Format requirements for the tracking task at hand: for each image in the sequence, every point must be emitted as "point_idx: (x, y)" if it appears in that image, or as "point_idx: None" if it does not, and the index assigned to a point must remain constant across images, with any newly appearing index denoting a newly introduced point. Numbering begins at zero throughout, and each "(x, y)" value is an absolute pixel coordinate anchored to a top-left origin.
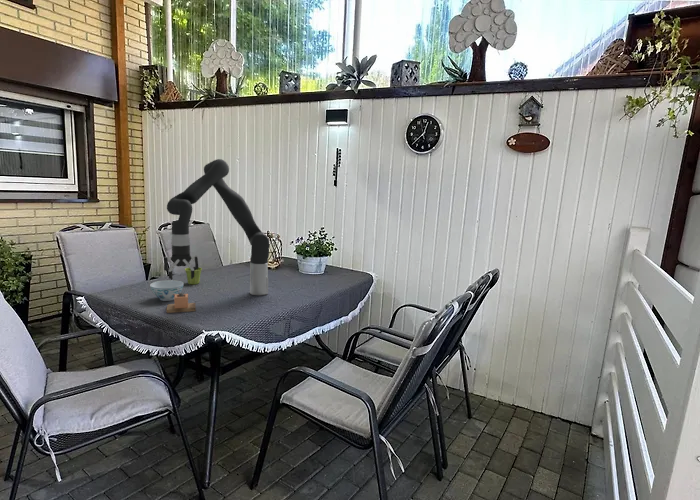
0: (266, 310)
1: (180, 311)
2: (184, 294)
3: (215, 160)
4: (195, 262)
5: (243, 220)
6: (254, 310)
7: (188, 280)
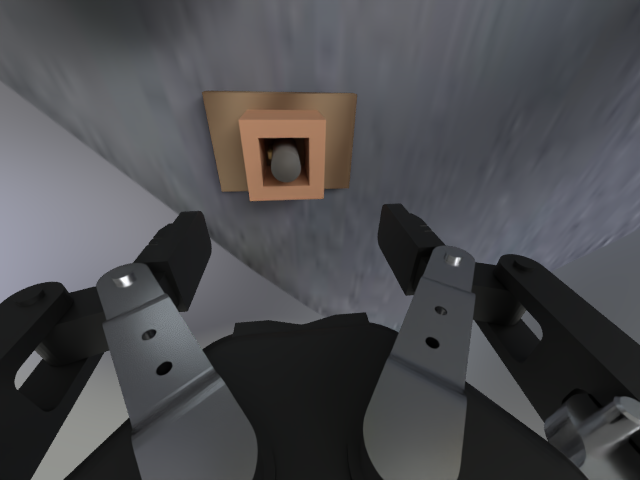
0: (580, 217)
1: None
2: (303, 136)
3: None
4: (539, 406)
5: None
6: (547, 210)
7: None
